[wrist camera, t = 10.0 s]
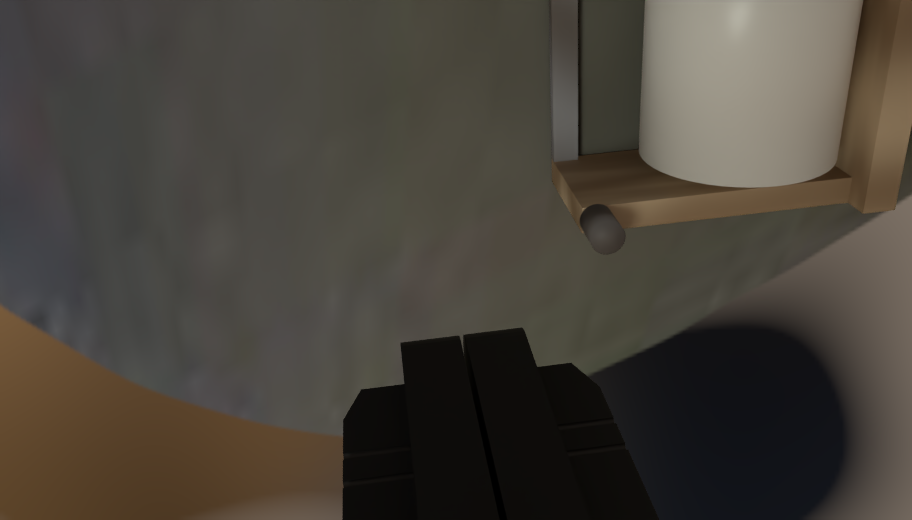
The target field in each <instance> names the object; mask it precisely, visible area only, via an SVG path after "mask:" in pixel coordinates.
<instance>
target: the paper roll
mask: <svg viewBox="0 0 912 520" xmlns="http://www.w3.org/2000/svg"><path fill="white" fill-rule="evenodd" d="M862 5H863V0H645V13H644V36H643V59H642V82H641V105H640V128H639V154H640V156H641V158H642V159H643V160H644V161H645V162H646V163H647V164H648V165H650V166H651V167H653V168H654V169H656V170H658V171H660V172H663V173H665V174H668V175H670V176H673V177H676V178H680V179H683V180H687V181H691V182H696V183H702V184H708V185H716V186H725V187H745V188H755V187H774V186H783V185H790V184H795V183H800V182H804V181H808V180H811V179H814V178H816V177H819V176H821V175H823V174H825V173H827V172H828V171H829V170H831V169H832V168H833V167H834V165H835V164H836V161H837V157H838V151H839V145H840V139H841V133H842V127H843V121H844V115H845V109H846V103H847V97H848V90H849V84H850V78H851V72H852V66H853V60H854V54H855V48H856V42H857V36H858V30H859V24H860V18H861V11H862Z"/></svg>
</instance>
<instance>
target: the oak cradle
mask: <svg viewBox="0 0 912 520" xmlns="http://www.w3.org/2000/svg"><path fill="white" fill-rule="evenodd" d="M549 30H550V88H551V145H552V182H553V184H554V186H555V187H556V189H557V191H558V192H559V194H560V196H561V198H562V199H563V201H564V203H565V204H566V206H567V208H568V210H569V211H570V213H571V215H572V217H573V218H574V220H575V222H576V223H577V225H578V227H579V229H580V230H581V232H582V233H585V235H586V237H587V238H588V240H589V242H590V243H591V245H592V247H593V248H594V250H595V251H596V252H598V253H600V254H612V253H614V252H616V251H618V250H619V249H620V248H621V247H622V246H623V244H624V242H625V237H626V236H625V231H624V228H633V227H642V226H650V225H659V224H667V223H676V222H685V221H693V220H702V219H711V218H719V217H728V216H736V215H745V214H754V213H762V212H771V211H780V210H788V209H797V208H805V207H814V206H823V205H831V204H840V203H849V204H851V205H852V206H853V207H855V208H856V209H857V210H859V211H860V212H861V213H863V214H864V213H873V212H881V211H890V210H895V207H896V202H897V197H898V192H899V187H900V182H901V177H902V172H903V167H904V162H905V156H906V151H907V146H908V141H909V136H910V131H911V126H912V0H863V5H862V11H861V18H860V24H859V30H858V36H857V42H856V48H855V54H854V60H853V66H852V72H851V78H850V84H849V90H848V97H847V103H846V109H845V115H844V121H843V127H842V133H841V139H840V145H839V151H838V157H837V161H836V164H835V165H834V167H833V168H832V169H831V170H829V171H828V172H827V173H825V174H823V175H821V176H819V177H816V178H814V179H811V180H808V181H804V182H800V183H795V184H790V185H783V186H774V187H755V188H745V187H725V186H716V185H708V184H702V183H696V182H691V181H687V180H683V179H680V178H676V177H673V176H670V175H668V174H665V173H663V172H660V171H658V170H656V169H654V168H653V167H651V166H650V165H648V164H647V163H646V162H645V161H644V160H643V159H642V158H641V156H640V154H639V149H637V150H627V151H618V152H609V153H600V154H591V155H582V156H578V0H549Z"/></svg>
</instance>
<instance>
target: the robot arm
mask: <svg viewBox="0 0 912 520" xmlns="http://www.w3.org/2000/svg"><path fill="white" fill-rule="evenodd" d="M463 347H464V354H463V349H462V345H461V340H460V337H459V336H451V337H443V338H435V339H427V340H419V341H411V342H403V343H401V353H402V363H403V373H404V383H405V384H402V385H394V386H386V387H378V388H370V389H362V390H361V391H360V393H359V394H358V396H357V398H356V399H355V401H354V403H353V405H352V406H351V408H350V410H349V411H348V413H347V415H346V416H345V418H344V420H343V454H344V455H343V456H344V460H343V485H344V488H343V520H659V518H658V516H657V514H656V511H655V509H654V507H653V505H652V503H651V500H650V498H649V496H648V494H647V491H646V489H645V487H644V485H643V482H642V480H641V478H640V476H639V473H638V471H637V469H636V467H635V464H634V462H633V460H632V458H631V456H630V453H629V451H628V450H626V448H625V442H624V440H623V438H622V436H621V433H620V431H619V429H618V427H617V424H616V423H615V424H614V420H613V415H612V413H611V411H610V409H609V407H608V404H607V402H606V400H605V398H604V395H603V393H602V391H601V389H600V387H599V386H598V385H597V384H596V383H594V382H593V381H592V380H591V379H590V378H589V377H587V376H586V375H585V374H584V373H583V372H581V371H580V370H579V369H578V368H577V367H575V366H574V365H573V364H572V363H566V364H558V365H550V366H542V367H537V365H536V363H535V360H534V357H533V354H532V351H531V348H530V345H529V343H528V340H527V337H526V334H525V331H524V330H523V328H515V329H506V330H498V331H490V332H482V333H474V334H466V335H464V336H463Z"/></svg>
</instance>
